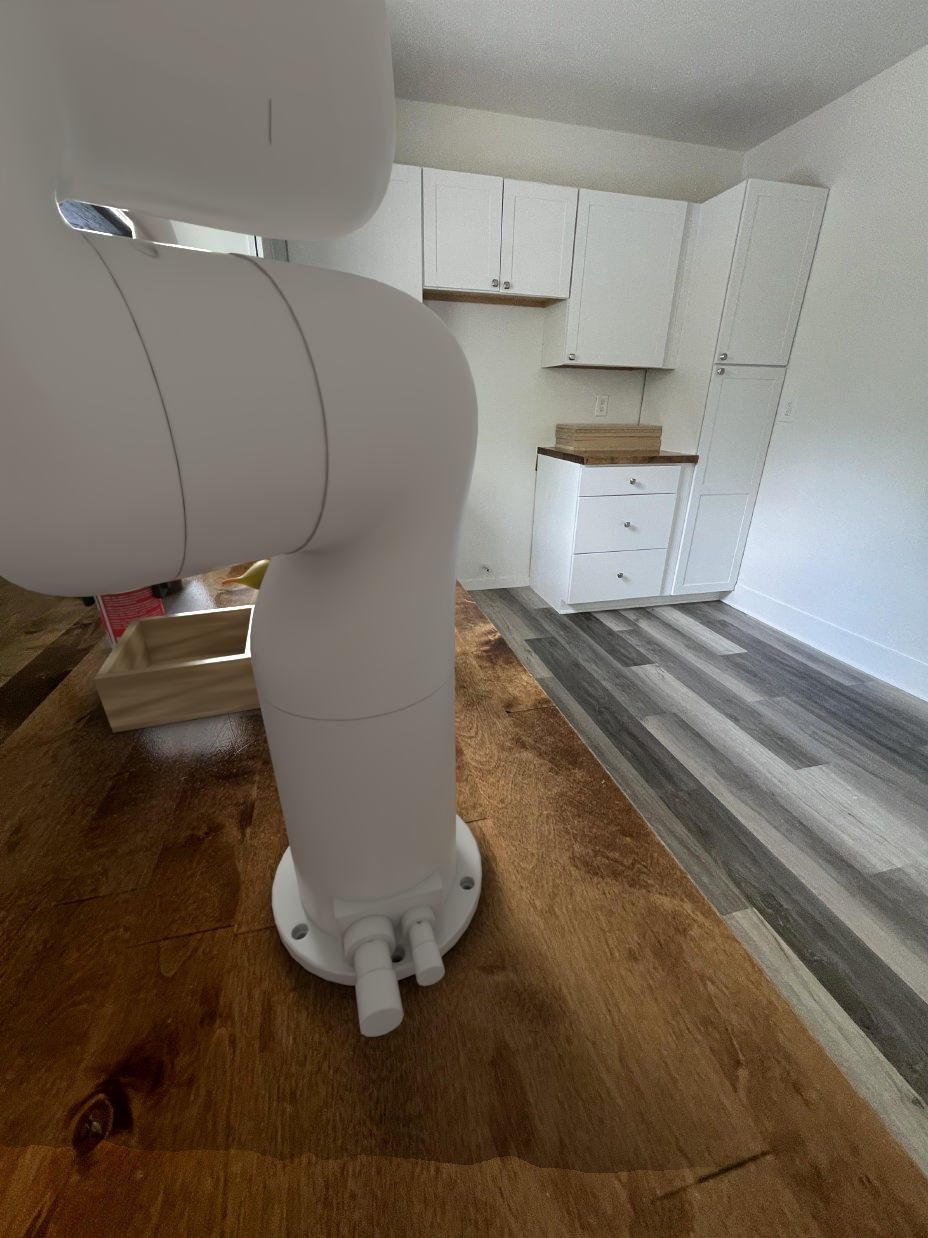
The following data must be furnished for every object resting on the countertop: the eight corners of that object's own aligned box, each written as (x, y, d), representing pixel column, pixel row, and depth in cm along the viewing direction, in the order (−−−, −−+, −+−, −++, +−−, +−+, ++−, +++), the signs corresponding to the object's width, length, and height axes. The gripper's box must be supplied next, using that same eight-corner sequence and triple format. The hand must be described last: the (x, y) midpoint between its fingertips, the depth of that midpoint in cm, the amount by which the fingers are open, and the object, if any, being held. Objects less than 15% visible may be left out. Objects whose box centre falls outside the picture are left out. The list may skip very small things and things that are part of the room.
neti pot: (223, 611, 68) (213, 566, 65) (325, 584, 77) (319, 543, 74) (235, 622, 65) (224, 574, 62) (338, 592, 74) (333, 550, 71)
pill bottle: (183, 637, 61) (159, 550, 56) (136, 660, 56) (106, 566, 51) (148, 628, 63) (122, 543, 59) (99, 649, 58) (67, 559, 54)
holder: (263, 707, 48) (253, 656, 45) (113, 733, 44) (92, 679, 42) (268, 647, 59) (259, 603, 56) (147, 664, 55) (132, 618, 53)
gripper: (-54, 437, 44) (23, 621, 52) (166, 431, 49) (206, 601, 56) (-11, 430, 50) (52, 595, 58) (180, 425, 55) (214, 578, 63)
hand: (128, 596), depth 57 cm, fingers closed on pill bottle, 6 cm apart
